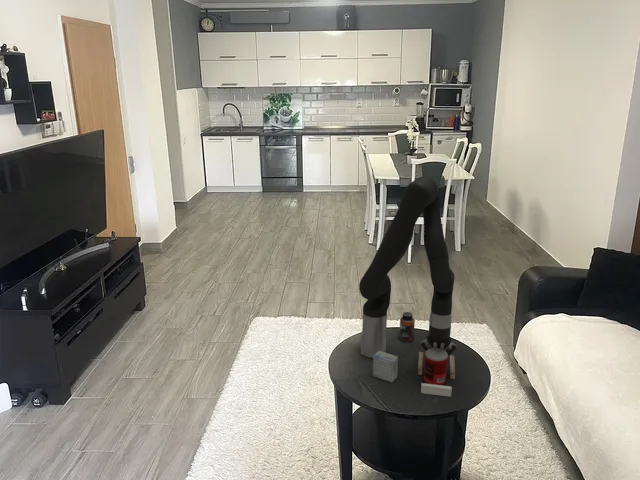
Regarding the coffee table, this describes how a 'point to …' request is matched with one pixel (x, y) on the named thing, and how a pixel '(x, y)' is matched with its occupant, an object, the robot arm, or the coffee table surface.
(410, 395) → the coffee table surface
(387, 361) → the medicine box
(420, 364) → the wooden bars
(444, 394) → the bar
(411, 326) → the supplement bottle
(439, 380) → the canned food
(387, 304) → the robot arm
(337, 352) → the coffee table surface
